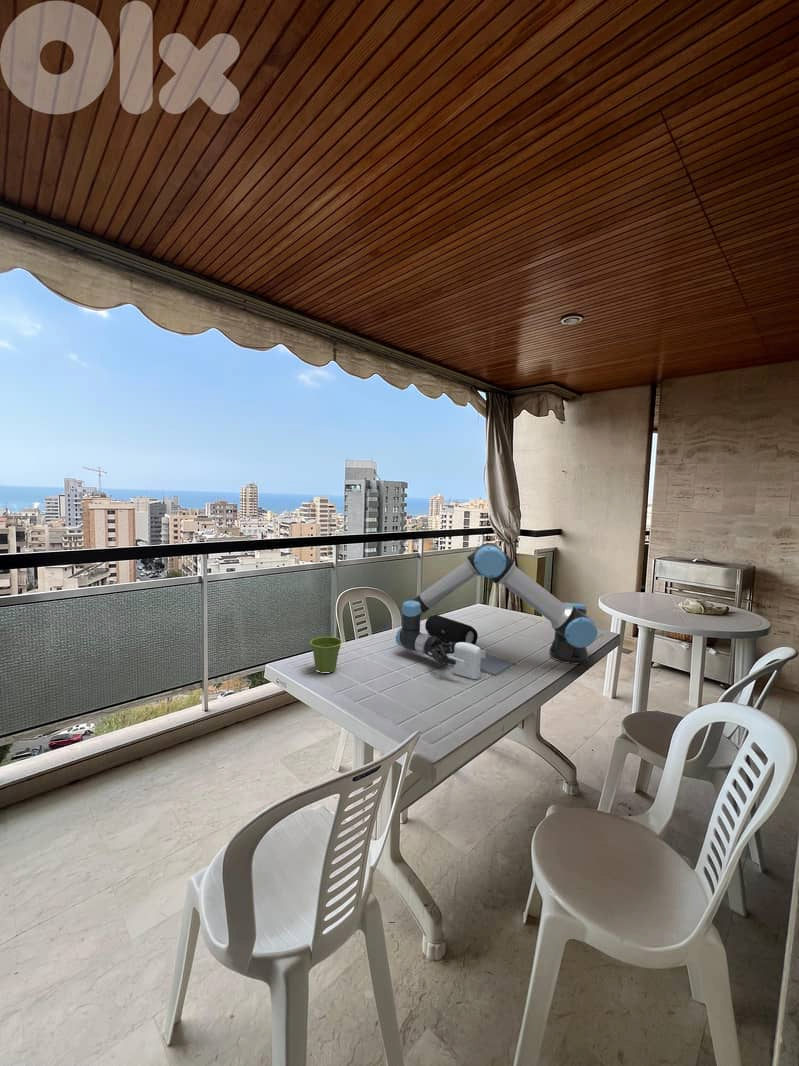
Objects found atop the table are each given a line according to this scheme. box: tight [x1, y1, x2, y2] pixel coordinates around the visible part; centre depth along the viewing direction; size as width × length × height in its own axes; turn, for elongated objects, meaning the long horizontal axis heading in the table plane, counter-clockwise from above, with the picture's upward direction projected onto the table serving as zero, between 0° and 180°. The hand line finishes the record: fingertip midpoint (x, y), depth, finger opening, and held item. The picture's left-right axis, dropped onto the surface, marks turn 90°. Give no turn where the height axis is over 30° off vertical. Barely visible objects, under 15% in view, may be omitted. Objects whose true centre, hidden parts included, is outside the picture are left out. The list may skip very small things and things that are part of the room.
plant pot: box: [309, 636, 343, 672], centre depth 163 cm, size 12×12×11 cm
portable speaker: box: [424, 614, 479, 645], centre depth 200 cm, size 26×10×10 cm, turn 39°
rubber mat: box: [480, 653, 517, 677], centre depth 173 cm, size 16×16×1 cm
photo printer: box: [452, 642, 482, 680], centre depth 161 cm, size 10×4×12 cm, turn 56°
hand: (474, 659), depth 159 cm, fingers open, 13 cm apart
